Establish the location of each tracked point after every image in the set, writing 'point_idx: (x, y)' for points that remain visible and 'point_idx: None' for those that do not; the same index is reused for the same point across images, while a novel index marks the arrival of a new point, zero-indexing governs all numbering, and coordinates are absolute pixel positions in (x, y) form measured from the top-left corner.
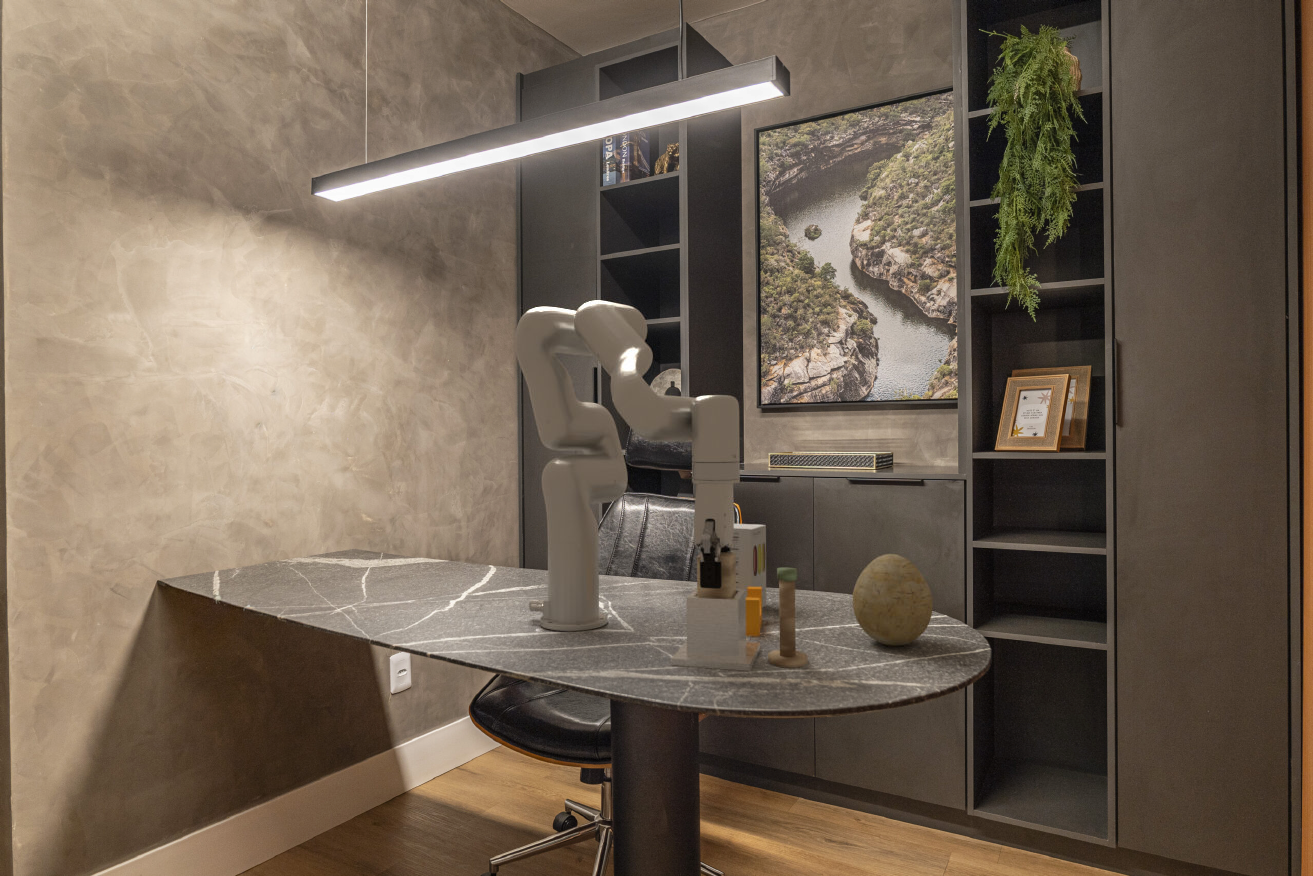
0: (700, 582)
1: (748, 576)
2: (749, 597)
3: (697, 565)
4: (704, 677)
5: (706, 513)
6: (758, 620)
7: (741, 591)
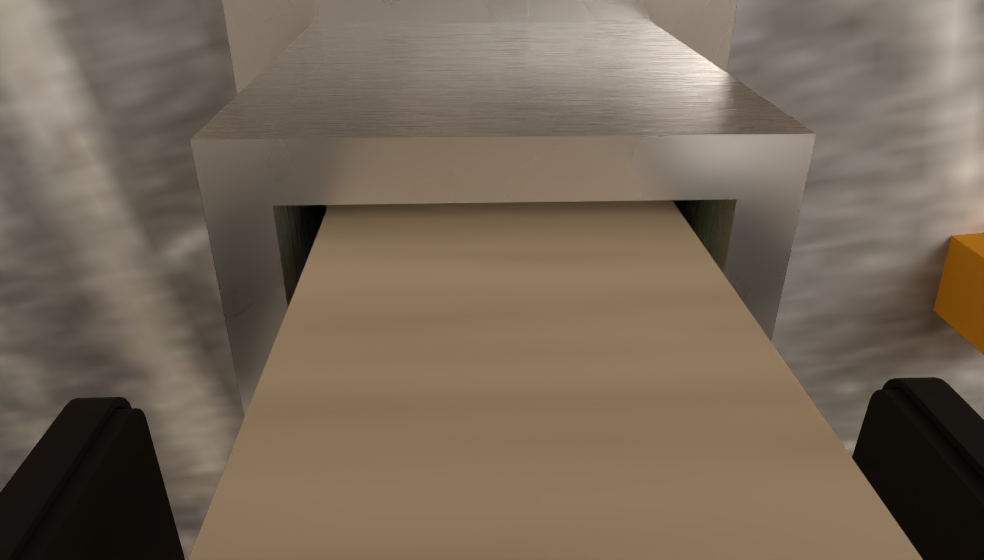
0: (50, 433)
1: None
2: None
3: (212, 506)
4: (95, 174)
5: None
6: None
7: None
